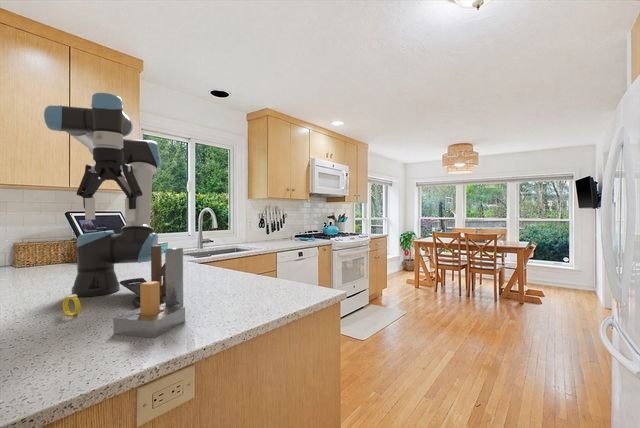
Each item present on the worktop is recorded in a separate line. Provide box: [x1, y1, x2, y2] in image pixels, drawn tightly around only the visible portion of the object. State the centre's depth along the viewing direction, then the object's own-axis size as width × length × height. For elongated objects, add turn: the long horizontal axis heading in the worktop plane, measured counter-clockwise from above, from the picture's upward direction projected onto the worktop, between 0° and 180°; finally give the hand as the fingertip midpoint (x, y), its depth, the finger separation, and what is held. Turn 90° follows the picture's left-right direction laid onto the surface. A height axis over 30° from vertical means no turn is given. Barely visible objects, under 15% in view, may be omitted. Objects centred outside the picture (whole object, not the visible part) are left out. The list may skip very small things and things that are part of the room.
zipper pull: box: [119, 277, 166, 309], centre depth 107 cm, size 9×7×25 cm
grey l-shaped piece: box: [112, 247, 186, 339], centre depth 88 cm, size 18×12×20 cm
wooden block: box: [150, 244, 165, 296], centre depth 120 cm, size 4×11×18 cm, turn 67°
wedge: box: [140, 280, 160, 316], centre depth 85 cm, size 3×3×12 cm
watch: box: [62, 294, 82, 317], centre depth 96 cm, size 6×3×6 cm, turn 70°
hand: (109, 220), depth 95 cm, fingers open, 13 cm apart
